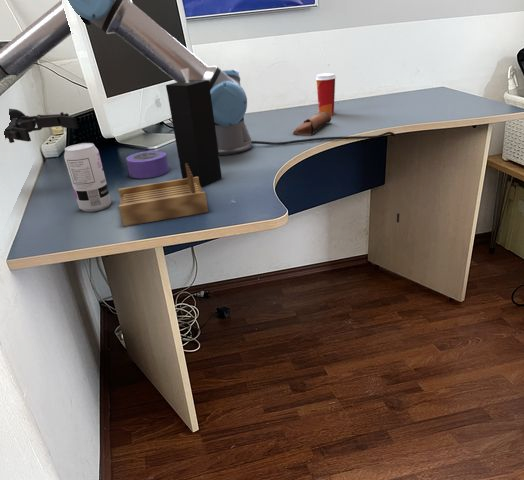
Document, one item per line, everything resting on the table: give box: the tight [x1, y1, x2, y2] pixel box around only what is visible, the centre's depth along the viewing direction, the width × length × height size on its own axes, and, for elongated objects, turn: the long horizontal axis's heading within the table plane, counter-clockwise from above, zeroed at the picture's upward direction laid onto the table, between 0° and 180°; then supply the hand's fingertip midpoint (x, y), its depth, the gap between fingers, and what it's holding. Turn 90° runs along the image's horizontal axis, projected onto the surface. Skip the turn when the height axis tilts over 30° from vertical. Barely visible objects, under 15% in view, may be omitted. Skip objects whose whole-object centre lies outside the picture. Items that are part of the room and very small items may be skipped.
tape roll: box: [125, 150, 170, 180], centre depth 156 cm, size 12×12×5 cm
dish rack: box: [118, 163, 209, 227], centre depth 126 cm, size 20×14×9 cm
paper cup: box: [315, 72, 337, 116], centre depth 200 cm, size 8×8×14 cm
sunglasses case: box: [292, 112, 332, 136], centre depth 185 cm, size 18×7×7 cm, turn 155°
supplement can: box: [63, 142, 112, 213], centre depth 131 cm, size 8×8×15 cm
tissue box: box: [165, 68, 223, 187], centre depth 138 cm, size 8×8×28 cm
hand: (52, 128), depth 130 cm, fingers open, 13 cm apart
